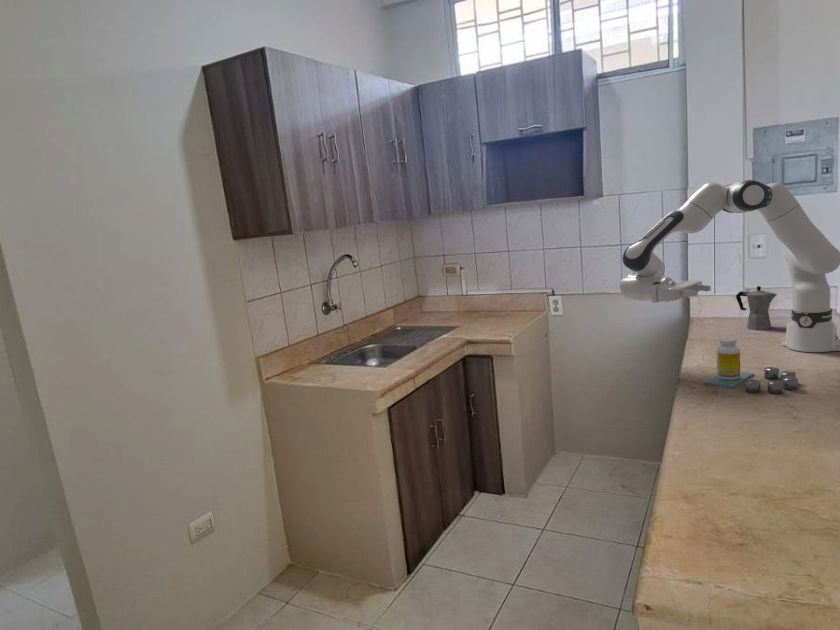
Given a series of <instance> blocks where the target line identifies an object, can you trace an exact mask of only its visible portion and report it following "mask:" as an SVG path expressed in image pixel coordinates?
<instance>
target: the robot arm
mask: <svg viewBox="0 0 840 630" xmlns="http://www.w3.org/2000/svg"><path fill="white" fill-rule="evenodd" d="M756 210H757V211H758V212H759V213H760V214H761V215H762V216H763V219H764V220H765V221H766V223H767V224H768V226H769V228H771V230H772V231H773V233H774V235H775V236H776V237H777V239H778V240H779V241H780V242H781V243H782V244H783V245H784V246H785V247H786V250H785V254H784V255H785V257H784V258H785V260H786V262H787V264H788V270H789V271H788V272H789V276H790V279H791V280H790V281H791V285H792V309H791V313H790V315H791V318H790V319H791V321H790V322H789V323H787V325H786V334H785V340H784V341H781V346H784V347H786V348H788V349H789V350H793V351H797V352H804V353H827V352H838V351H839V352H840V337H839V336H838V327H837V325H836V324H835V323H834V321H833V311H834V310H833V308H832V307H831V287H830V284H829V283H828V279H827V276H826V275H827V274H830V273H832V272H834V271H836V270H837V269H838V268H839V267H840V249H838V248H837V247H835V246H834V245H833V244H832V242H831V241H829V239H828V238H827V237H826V236H825V235H824V234H823V233H822V232H821V230H819V228H818V227H817V226H816V225H815V224H814V223H813V221H812V220H811V219H810V218H809V216H808V214H807V213H806V211H804V209H803V208H802V206H801V204H800V203H799V202H798V200H797V198H796V197H795V196H794V194H793V193H791V192H790V190H789V189H788V188H786V187H785V185H783V184H782V183H780V182H769V183H767V184H765V183H763V182H760V181H758V180H754V179H753V180H752V179H748V180H739V181H736V182H733V183H730V184H727V185H725V186H723V185H721V184H720V183H717V182H713V181H711V182H710V181H709V182H707V183H705V184H703V185H702V186H701V187H699V188H698V189H697V190H696V191H695V192H694V193H693V194H692V195H691V196H690V197H689V198H688V199H687V200H686V201H685V202H684V203H683V204H682V205H681V206H680V207H679V208H678V209H676V210H674V211H672V210H671V212H669V213H667V214H665V215H664V216H663V217H662V218H661V219H660V220H659V221H657V223H655V224H654V225H653V226H652V227H651V228H650V229H649V230H648V231H646V232H645V233H644V235H642V236H641V237H640V238H639V239H637V240H635V242H633V243H631V244H630V245H629V246H627V247H626V248H625V250H624V252H623V255H622V263H623V266H624V267H626V268H627V269H629V270H630V271H631V272H630V273H629V274H627V276H626V277H623V278H621V280H620V283H619V289H620V293H621V294H622V296H623V297H624V298H625V299H627V300H633V301H643V302H645V301H646V302H647V301H651V303H654V304H655V303H656V304H657V303H663V302H664V303H669V302H675V301H677V300H681V299H684V298H688V297H696V296H698V295H699V292H702V291H703V292H709V291H711V289H712V286H711V285H708V284H707V285H706V284H703V282H702V281H701V280H679V281H675V280H673V278H671V277H669V276H664V273H665V270H666V267H665V263H664V262H663V261H662V260H661V258H660V257H659V256H658V255H656V253H654V251H655V249H656V248H657V247H658V246H659V245H660V244H661V243H662V242H663V241H664V240H665V239H666V238H667V237H668V236H670V235H671V234H673V233H677V232H681V233H684V234H695V233H696V234H697V233H700V232H701V231H702V230H704V229H706V227H707V226H708V225H709V224H710V223H711V221H712V220H713V219H715V217H716V215H717V214H718V213H720V212H721V211H723V212H727V213H730V214H731V213H732V214H734V213H735V214H744V213H746V212H753V211H756Z"/></svg>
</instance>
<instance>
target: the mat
mask: <svg viewBox="0 0 840 630" xmlns="http://www.w3.org/2000/svg"><path fill="white" fill-rule="evenodd" d="M754 375H755V373H754V372H748V371H747V372H746V371H741V370H740V378H739V379H736V380H724V379H720V378H718V376H717V373H716V374H714V375H713V376H711V377H710V378H707V379H706V380H705V381H703V385H708V386H709V385H710V386H715V387H721V388H728V389H735V388H736V387H737V386H739V385H740V384H742V383H744V382H745V381H746V380H749V378H752V377H753V376H754Z"/></svg>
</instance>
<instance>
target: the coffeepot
mask: <svg viewBox="0 0 840 630" xmlns="http://www.w3.org/2000/svg"><path fill="white" fill-rule="evenodd" d="M776 296H778V294H777V293H774V292H771V291H767V290H762V287H761V285H758V286H756V290H754V291H739V292H738V293H737V294H735V299H736V300H737V301H736V302H737V303H738V305H739V309H740V310H741V311H746V310H747V309H749V313H748V319H747V324H746V327H747V329H749V330H752V331H754V330H755V331H767V330H771V329H772V325H771V324H772V323H771V319H770V314H769V309H770V305H771V302H772V301H773V300H774V298H775V297H776ZM741 297H746V298H747V303H748V308H745V307H744V304H743V302H742V298H741Z"/></svg>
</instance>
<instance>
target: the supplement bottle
mask: <svg viewBox="0 0 840 630" xmlns="http://www.w3.org/2000/svg"><path fill="white" fill-rule="evenodd" d="M736 344H737V339H736V338H734V337H722V338H720V339H719V345H720V346H717V347H716V374H717V376H718V378H720V379H724V380H736V379H739V378H740V371H741V350H740V348H739V347H738V346H736Z"/></svg>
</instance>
